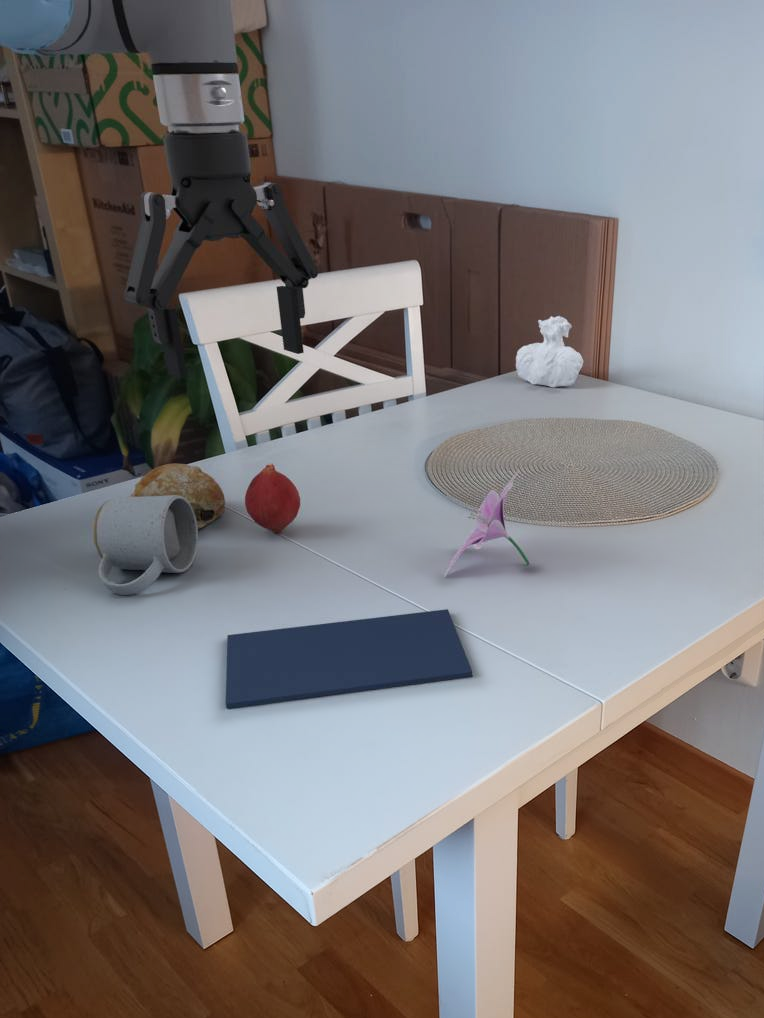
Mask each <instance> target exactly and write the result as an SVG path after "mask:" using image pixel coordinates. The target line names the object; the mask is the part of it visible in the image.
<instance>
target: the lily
mask: <svg viewBox="0 0 764 1018" xmlns="http://www.w3.org/2000/svg"><path fill="white" fill-rule="evenodd" d="M520 471H521V469H519V470H518V471H517V472H516V473H515V474H514V475H513V476H512V478H511V479H510V480H509V482H508V483H507V484H506V485H505V486H504V488H503V490H502V491H501V493H500V495H499V494H498V493H497V491H495V489H491V490H490V491H489V493H488V494H487V495H486V497H485V498H484V500H483V501H482V503H481V505H480V507H479V509H478V510H475V511H474V513H476V514H474V513H472V512H471V513H470V515H471V516H467V518H468V519H473V520H475V526H476V527H474V529H473V530H472V532H470V534H469V535H468V537H467V539H466V540H465V541H464V543H463V545H462V546H461V547H460V548H458V550H457V552H456V553H455V554H454V556H453V558H452V560H451V561H450V563H449V565H448V567H447V569H446V571H445V574H444V577H446V576H447V575H448V573H449V572H450V570H451V568H452V567H453V565H454V564H455V563H456V561H457V560H458V558H459V557H460V556H461V555H462V553H464V551H465V550H466V549H468V547H470V546H472V545H473V548H474V549H475V550H479V549H481V547H482V545H483V543H486V542H489V541H494V540H497V539H499V538H506V539H507V540H508V541H509V542H510V543H511V544H512V545H513V546H514V548H515V549H516V550H517V551H518V553H519V554H520V555H521V557H522V558H523V561H524V562H525V564H526V565H527V566H529V565H530V564H531V563H530V561H529V559H528V558H527V556H526V555H525V554H524V552H523V550H522V549H521V548H520V546H519V545H518V544H517V543H516V542H515V540H514V539H513V538H512V537H511V536H510V535H509V534H508V532H507V530H506V524H505V522H506V521H505V502H506V501H505V500H506V497H507V494H508V493H509V491H510V490H511V489H512V487H513V486H514V483H513V482H514V481H515V479H516V477H517V476H518V474H519V472H520Z"/></svg>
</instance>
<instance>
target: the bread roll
mask: <svg viewBox="0 0 764 1018" xmlns="http://www.w3.org/2000/svg"><path fill="white" fill-rule="evenodd" d="M167 495H179V496H182V497H184V498H185V499H186V500H187V501H188V502H189V503H190V505H191V507H192V509H193V511H194V514H195V517H196V522H197V529H198V530H201V529H202V528H203V527H205V526H207V525H209V524H211V523H213V522H215V520H216V519H218V518H220V517H222V515H223V514H224V512H225V508H226V500H225V499H226V498H225V494H224V492H223V489H222V488H221V486H220V485H219V483H218V482H217V481H216V480H215V478H214V477H212V476H211V475H209V474H208V473H206V472H204V471H202V468H200V467H199V466H197V465H189V464H186V463H177V462H176V463H174V462H173V463H166V464H162V465H159V466H157V467H155V468H153V469H152V470H150V471H148V472H147V473H145V474H144V475H143V476H142V477H141V478H140V480H139V481H137V482H136V483H135V485H134V491H133V493H131V494H130V496H129V497H146V496H167Z"/></svg>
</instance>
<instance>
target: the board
mask: <svg viewBox="0 0 764 1018" xmlns="http://www.w3.org/2000/svg"><path fill="white" fill-rule="evenodd" d="M226 641H227V642H226V647H227V648H226V673H225V675H226V676H225V708H226V709H234V708H242V707H243V708H244V707H249V706H257V705H258V706H259V705H266V704H272V703H280V702H287V701H289V702H290V701H296V700H303V699H310V698H318V697H327V696H333V695H341V694H348V693H356V692H357V693H358V692H363V691H373V690H378V689H379V690H380V689H386V688H394V687H401V686H402V687H403V686H410V685H417V684H425V683H432V682H441V681H447V680H456V679H464V678H469V677H473V672H474V671H473V668H472V666H471V664H470V662H469V659H468V657H467V655H466V652H465V649H464V647H463V643H462V642H461V639H460V636H459V634H458V631H457V629H456V627H455V624H454V622H453V619H452V615H451V614H450V610H449V609H448V608H445V609H439V610H438V609H437V610H429V611H420V612H412V613H411V612H410V613H403V614H395V615H387V616H386V615H385V616H379V617H378V616H377V617H370V618H361V619H351V620H344V621H335V622H328V623H319V624H310V625H301V626H293V627H292V626H291V627H283V628H275V629H268V630H267V629H266V630H259V631H252V632H251V631H249V632H244V633H243V632H241V633H234V634H227V639H226Z"/></svg>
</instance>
